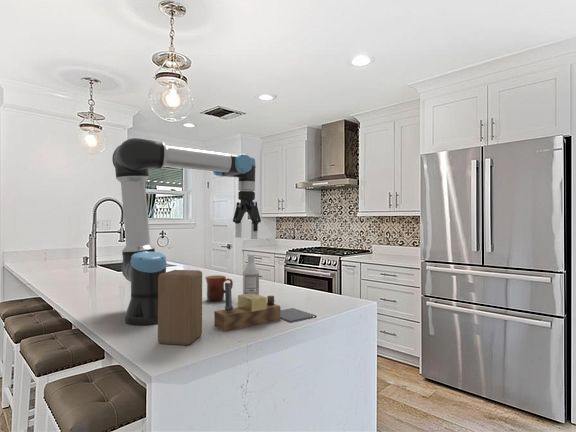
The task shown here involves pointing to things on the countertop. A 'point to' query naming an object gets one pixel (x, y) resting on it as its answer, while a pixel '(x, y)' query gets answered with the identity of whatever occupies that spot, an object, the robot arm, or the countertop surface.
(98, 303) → the countertop surface
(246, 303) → the pale yellow block
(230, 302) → the lever
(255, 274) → the bath foam
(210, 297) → the mug
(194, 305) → the block
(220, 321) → the plane body
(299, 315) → the mat
